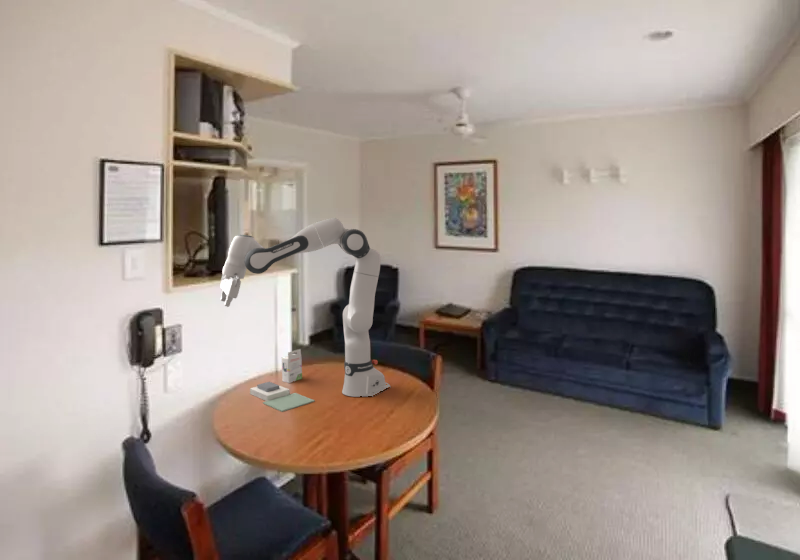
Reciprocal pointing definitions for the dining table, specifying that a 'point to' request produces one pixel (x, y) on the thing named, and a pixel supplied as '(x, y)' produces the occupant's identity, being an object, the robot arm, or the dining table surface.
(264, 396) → the stand
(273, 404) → the mat
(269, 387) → the slate coaster
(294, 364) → the ink box
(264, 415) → the dining table surface
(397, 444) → the dining table surface
